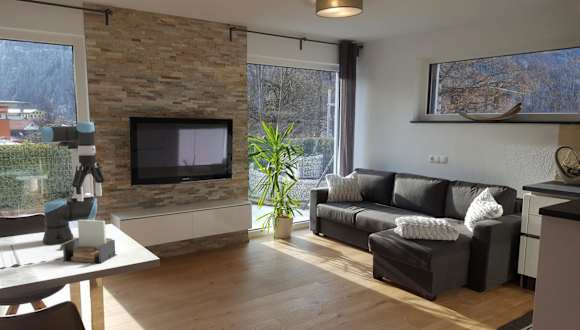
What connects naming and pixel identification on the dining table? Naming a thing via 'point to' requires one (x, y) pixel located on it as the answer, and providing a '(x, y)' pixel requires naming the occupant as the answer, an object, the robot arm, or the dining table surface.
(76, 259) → the offcut bottom
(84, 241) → the sheet
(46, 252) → the dining table surface
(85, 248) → the offcut top
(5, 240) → the dining table surface
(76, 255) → the offcut middle
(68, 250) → the rack
